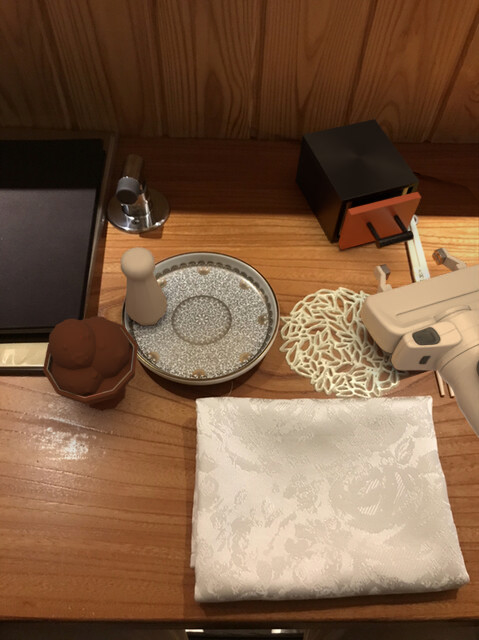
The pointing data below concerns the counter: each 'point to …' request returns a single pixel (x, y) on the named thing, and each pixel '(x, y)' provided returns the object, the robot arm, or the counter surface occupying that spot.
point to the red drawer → (378, 219)
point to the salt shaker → (142, 287)
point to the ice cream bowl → (91, 361)
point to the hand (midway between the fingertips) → (408, 259)
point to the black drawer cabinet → (349, 170)
